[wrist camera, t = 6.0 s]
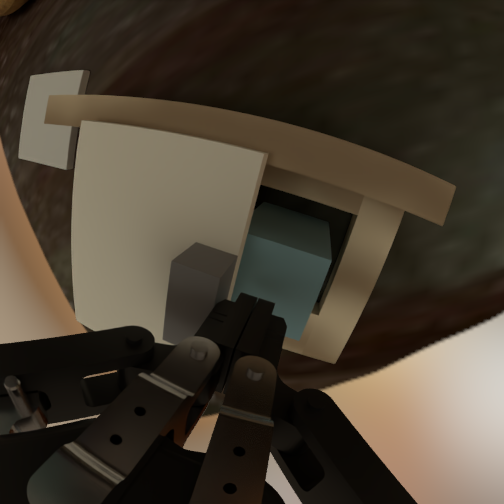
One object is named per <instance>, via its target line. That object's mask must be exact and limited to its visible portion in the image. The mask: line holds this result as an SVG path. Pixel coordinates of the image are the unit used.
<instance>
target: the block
mask: <svg viewBox="0 0 504 504" xmlns="http://www.w3.org/2000/svg"><path fill="white" fill-rule="evenodd" d="M331 261H332V256H331V242H330V230H329V222H327V221H324V220H321V219H318V218H315V217H312V216H309V215H305V214H302V213H299V212H296V211H293V210H290V209H286V208H283V207H280V206H277V205H273V204H270V203H267V202H263V203H262V204H261V205H260V206H259V207H257V208H256V209H255V210H254V211H253V215H252V219H251V222H250V226H249V230H248V234H247V238H246V242H245V246H244V250H243V253H242V257H241V261H240V265H239V269H238V273H237V277H236V281H235V285H234V289H233V293H232V297H231V301H233V302H235V301H236V300H237V298H238V296H239V295H240V293H241V292H243V293H246V294H249V295H252V296H255V297H258V299H259V298H261V299H264V300H267V301H270V302H274V303H275V306H274V309H273V312H272V315H275V316H278V317H282V318H284V320H285V322H286V325H287V330H286V334H285V337H288V338H291V339H294V340H298V341H299V340H300V338H301V335H302V333H303V331H304V328H305V326H306V324H307V321H308V319H309V317H310V314H311V312H312V310H313V307H314V305H315V302H316V300H317V297H318V295H319V292H320V290H321V287H322V285H323V282H324V280H325V277H326V275H327V272H328V269H329V267H330V264H331ZM258 299H257V301H258Z"/></svg>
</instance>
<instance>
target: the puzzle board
mask: <svg viewBox="0 0 504 504" xmlns="http://www.w3.org/2000/svg"><path fill="white" fill-rule="evenodd" d="M82 120H92V121H102V122H111V123H119V124H126V125H133V126H140V127H147V128H153V129H159V130H165V131H170V132H176V133H181V134H186V135H192V136H197V137H201V138H206V139H211V140H215V141H220V142H224V143H229V144H233V145H237V146H241V147H245V148H249V149H253V150H257V151H261V152H265V153H269V154H268V158H267V161H266V165H265V169H264V173H263V177H262V180H261V184H260V185H264V186H267V187H271V188H274V189H277V190H281V191H284V192H287V193H291V194H294V195H297V196H300V197H304V198H307V199H310V200H313V201H316V202H319V203H322V204H325V205H328V206H331V207H334V208H337V209H340V210H343V211H346V212H349V213H352V214H353V215H352V218H351V221H350V224H349V227H348V230H347V233H346V235H345V238H344V241H343V244H342V247H341V249H340V252H339V255H338V257H337V260H336V263H335V265H334V268H333V270H332V273H331V275H330V278H329V281H328V283H327V286H326V288H325V291H324V293H323V295H322V298H321V300H320V303H318V302H315V305H314V307H313V310H312V312H311V314H310V317H309V319H308V321H307V324H306V326H305V328H304V331H303V333H302V335H301V338H300V340H299V341H298V340H294V339H291V338H288V337H285V338H284V342H283V346H282V348H283V349H286V350H289V351H293V352H296V353H299V354H302V355H306V356H309V357H312V358H316V359H319V360H323V361H326V362H330V363H334V364H335V363H336V361H337V359H338V357H339V355H340V354H341V352H342V350H343V348H344V346H345V344H346V342H347V341H348V339H349V337H350V335H351V333H352V331H353V329H354V327H355V325H356V323H357V321H358V319H359V317H360V315H361V313H362V311H363V309H364V307H365V305H366V303H367V301H368V298H369V296H370V294H371V292H372V290H373V288H374V285H375V283H376V281H377V279H378V276H379V274H380V272H381V269H382V267H383V265H384V262H385V260H386V258H387V255H388V253H389V250H390V248H391V245H392V243H393V240H394V238H395V235H396V232H397V230H398V227H399V224H400V222H401V219H402V216H403V213H404V211H407V212H410V213H412V214H415V215H417V216H420V217H422V218H424V219H427V220H429V221H431V222H434V223H436V224H438V225H441V226H443V224H444V221H445V218H446V216H447V213H448V210H449V207H450V204H451V201H452V198H453V195H454V192H455V189H456V186H454V185H452V184H450V183H448V182H446V181H444V180H442V179H440V178H438V177H436V176H433V175H431V174H429V173H427V172H425V171H422V170H420V169H418V168H415V167H413V166H411V165H408V164H406V163H404V162H401V161H399V160H396V159H394V158H391V157H389V156H386V155H384V154H381V153H378V152H376V151H373V150H370V149H368V148H365V147H362V146H359V145H356V144H353V143H351V142H348V141H345V140H342V139H339V138H335V137H332V136H329V135H326V134H323V133H319V132H316V131H313V130H309V129H306V128H302V127H299V126H295V125H291V124H287V123H284V122H280V121H276V120H272V119H267V118H263V117H259V116H254V115H250V114H245V113H240V112H235V111H230V110H225V109H220V108H214V107H208V106H202V105H196V104H189V103H182V102H175V101H167V100H158V99H149V98H138V97H125V96H107V95H49V98H48V103H47V108H46V114H45V121H44V124H54V125H64V126H74V127H81V121H82Z"/></svg>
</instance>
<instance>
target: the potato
mask: <svg viewBox="0 0 504 504" xmlns="http://www.w3.org/2000/svg"><path fill="white" fill-rule="evenodd" d="M27 1H29V0H0V17H1V16H5V15H9V14H11V13H13V12H15V11H16V10H18V9H19V8H20V7H21V6H22V5H24V4H25V3H26V2H27Z"/></svg>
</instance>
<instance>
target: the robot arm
mask: <svg viewBox="0 0 504 504" xmlns="http://www.w3.org/2000/svg"><path fill="white" fill-rule="evenodd" d="M257 299H258V297H255V296H252V295H249V294H246V293H243V292H241V293H240V295H239V296H238V298H237V300H236V301H235V302H233V301H230V300H227V299H224V300H222V301H220V302H218V303H216V305H215V306H214V308H213V309H212V311H211V312H210V313H209V315H208V317H207V318H206V319H205V321H204V322H203V324H202V325H201V326H200V328H199V329H198V331H197V332H196V334H195V335H194V336H193V337H188V338H185V339H183V340H182V341H181V342H180V343H179V344H178V345H167V344H162V343H156V342H155V338H154V336H153V334H152V333H151V332H150V331H149V330H147V329H146V328H143V327H140V326H134V325H131V326H124V327H118V328H112V329H106V330H100V331H94V332H88V333H81V334H75V335H68V336H61V337H55V338H47V339H39V340H31V341H24V342H15V343H7V344H0V504H285V503H284V501H283V499H282V498H281V496H280V495H279V494H278V492H277V491H276V490H275V489H274V488H273V487H272V486H271V485H269V484H268V483H267V482H266V481H265V479H266V473H267V467H268V460H269V455H270V452H271V453H272V455H273V457H274V459H275V460H276V462H277V464H278V465H279V467H280V468H281V470H282V472H283V474H284V475H285V477H286V479H287V480H288V482H289V483H290V485H291V487H292V488H293V490H294V491H295V493H296V494H297V496H298V497H299V499H300V501H301V502H302V504H417V503H416V501H415V500H414V499H413V498H412V497H411V495H410V494H409V493H408V492H407V491H406V490H405V488H404V487H403V486H402V485H401V484H400V482H399V481H398V480H397V479H396V478H395V476H394V475H393V474H392V473H391V472H390V470H389V469H388V468H387V467H386V466H385V464H384V463H383V462H382V461H381V460H380V458H379V457H378V456H377V455H376V453H375V452H374V451H373V450H372V449H371V447H370V446H369V445H368V444H367V442H366V441H365V440H364V439H363V437H362V436H361V435H360V434H359V432H358V431H357V430H356V429H355V428H354V426H353V425H352V424H351V422H350V421H349V420H348V419H347V417H346V416H345V415H344V414H343V412H342V411H341V410H340V409H339V407H338V406H337V405H336V404H335V402H334V401H333V400H332V399H331V397H329V396H328V395H327V394H326V393H324V392H322V391H320V390H317V389H303V390H301V391H299V392H297V391H295V390H293V389H291V388H290V387H288V386H287V385H285V384H284V383H283V382H282V381H281V379H280V378H279V376H278V373H277V366H278V362H279V358H280V354H281V350H282V346H283V342H284V338H285V334H286V330H287V325H286V322H285V320H284V318H282V317H278V316H275V315H272V312H273V309H274V306H275V303H274V302H270V301H267V300H264V299H261V298H259V299H258V301H257ZM113 370H117V372H115V373H110V374H105V375H100V376H95V377H90V378H85V379H84V377H86V376H89V375H93V374H99V373H104V372H109V371H113ZM224 386H225V388H224ZM223 388H224V392H223V394H226V395H225V398H224V401H223V404H222V407H221V409H220V412H219V415H218V419H217V422H216V425H215V428H214V431H213V434H212V437H211V440H210V443H209V446H208V449H207V452H206V453H202V452H195V451H190V450H186V449H183V446H184V444H185V442H186V440H187V438H188V437H189V435H190V434H191V432H192V430H193V429H194V427H195V426H196V424H197V422H198V421H199V419H200V418H201V416H202V414H203V413H204V411H205V410H206V408H207V406H208V403H209V401H210V400H211V398H212V396H213V394H214V392H215V391H217V392H220V393H221V392H222V390H223ZM99 414H100V415H99ZM94 415H99V416H98V417H97V418H91V419H85V420H80V421H76V422H72V423H67V424H63V425H58V426H53V427H48V428H46V427H47V424H52V423H57V422H63V421H69V420H74V419H79V418H85V417H89V416H94Z"/></svg>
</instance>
